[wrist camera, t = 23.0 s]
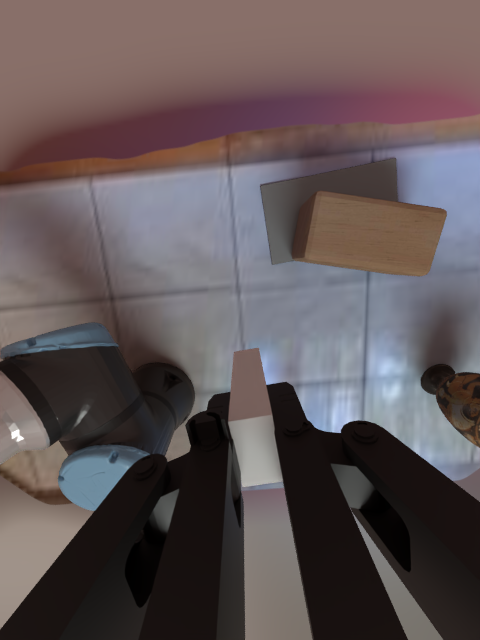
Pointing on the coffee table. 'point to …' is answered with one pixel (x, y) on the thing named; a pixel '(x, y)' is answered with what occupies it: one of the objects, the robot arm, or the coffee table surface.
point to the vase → (456, 398)
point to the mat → (292, 194)
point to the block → (367, 234)
